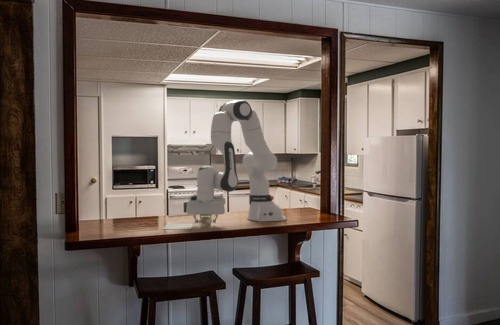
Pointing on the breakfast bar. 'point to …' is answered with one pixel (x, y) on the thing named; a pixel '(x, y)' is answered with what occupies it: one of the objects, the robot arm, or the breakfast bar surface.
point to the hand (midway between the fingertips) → (205, 222)
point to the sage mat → (178, 226)
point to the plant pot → (204, 215)
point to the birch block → (205, 221)
